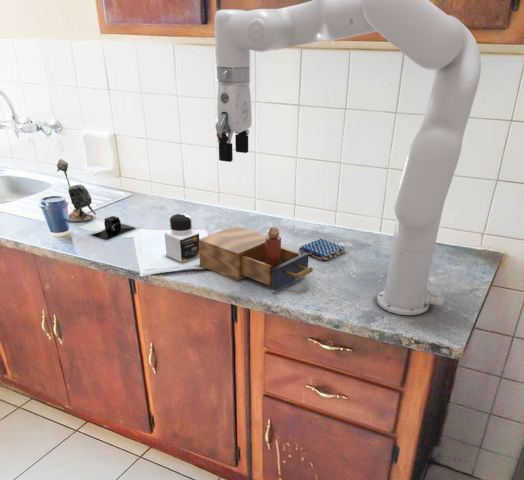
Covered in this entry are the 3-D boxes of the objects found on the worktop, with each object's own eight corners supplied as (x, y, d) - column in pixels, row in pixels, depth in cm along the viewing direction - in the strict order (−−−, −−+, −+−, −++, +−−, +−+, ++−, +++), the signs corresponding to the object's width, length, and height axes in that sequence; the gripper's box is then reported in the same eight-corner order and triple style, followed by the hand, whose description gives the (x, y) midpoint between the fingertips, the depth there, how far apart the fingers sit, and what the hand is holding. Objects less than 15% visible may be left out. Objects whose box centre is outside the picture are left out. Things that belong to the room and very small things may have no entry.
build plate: (106, 240, 160) (104, 226, 158) (90, 235, 164) (88, 221, 161) (135, 228, 169) (133, 214, 167) (119, 224, 172) (117, 210, 170)
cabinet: (273, 264, 147) (274, 238, 142) (238, 281, 137) (238, 253, 133) (235, 250, 155) (235, 225, 150) (199, 265, 145) (198, 239, 141)
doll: (283, 270, 138) (284, 226, 131) (273, 275, 135) (274, 230, 129) (271, 266, 140) (272, 223, 133) (261, 271, 138) (262, 227, 131)
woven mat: (346, 252, 154) (347, 246, 153) (324, 262, 148) (324, 256, 147) (320, 243, 161) (320, 237, 159) (297, 252, 154) (297, 245, 153)
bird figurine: (86, 225, 171) (75, 163, 160) (60, 220, 175) (47, 159, 164) (102, 218, 177) (92, 157, 166) (76, 213, 181) (65, 153, 170)
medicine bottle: (182, 263, 146) (178, 222, 140) (166, 256, 151) (162, 215, 144) (200, 255, 151) (198, 215, 144) (184, 249, 155) (182, 210, 148)
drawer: (320, 278, 137) (322, 258, 134) (288, 296, 128) (289, 274, 125) (268, 260, 146) (269, 240, 143) (236, 275, 138) (235, 255, 135)
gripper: (233, 80, 106) (234, 166, 116) (262, 73, 120) (261, 150, 129) (200, 79, 108) (204, 163, 118) (232, 72, 122) (233, 147, 131)
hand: (234, 156), depth 124 cm, fingers open, 9 cm apart
